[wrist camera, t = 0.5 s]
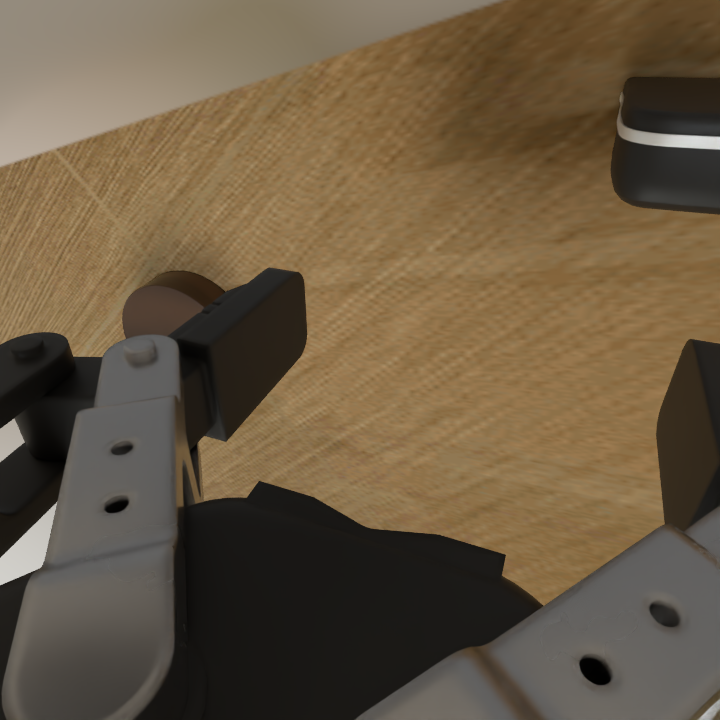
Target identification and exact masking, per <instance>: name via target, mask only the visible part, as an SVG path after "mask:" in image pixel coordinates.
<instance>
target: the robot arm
mask: <svg viewBox="0 0 720 720" xmlns="http://www.w3.org/2000/svg"><path fill="white" fill-rule="evenodd" d="M306 340H307V322H306V304H305V287H304V279H303V277H302V275H301V274H300V273H299V272H293V271H287V270H281V269H275V268H267V269H265V270H264V271H263V272H262V273H260V274H259V275H258V276H256V277H255V278H254V279H253V280H251V281H250V282H249V283H247V284H244V285H242V286H239V287H237V288H234V289H232V290H229V291H227V292H225V293H224V294H222V295H221V296H220V297H218V298H217V299H216V300H214V301H213V303H212V304H209V305H208V306H207V307H205V308H204V309H203V310H201V313H197V314H196V315H195V316H193V317H192V318H191V319H189V320H188V321H187V322H185V323H184V324H183V325H181V326H180V327H179V328H177V329H176V330H175V331H173V332H172V333H171V334H169V335H168V336H163V335H155V334H153V335H140V336H135V337H131V338H128V339H125V340H122V341H120V342H118V343H116V344H114V345H113V346H111V347H110V348H109V349H108V350H107V351H106V352H105V353H104V355H103V357H73V355H72V352H71V349H70V346H69V343H68V340H67V339H66V338H65V337H64V336H63V335H60V334H57V333H50V332H42V333H33V334H27V335H23V336H20V337H17V338H14V339H11V340H9V341H7V342H5V343H3V344H1V345H0V428H2V427H3V426H4V425H6V424H7V423H8V422H10V421H11V420H12V419H14V418H15V420H16V423H17V425H18V427H19V429H20V432H21V434H22V436H23V439H24V441H25V443H24V444H22V445H21V446H20V447H19V448H17V449H16V450H15V451H14V452H12V453H11V454H10V455H9V456H8V457H6V458H5V459H4V460H3V461H1V462H0V557H1V556H2V555H3V554H4V553H5V552H6V551H8V550H9V549H10V548H11V547H12V546H13V545H14V544H15V543H16V542H17V541H18V540H19V539H20V538H21V537H22V536H23V535H24V534H25V533H26V532H27V531H28V530H29V529H30V528H31V527H32V526H33V525H34V524H35V523H36V522H37V521H38V520H39V519H40V518H41V517H42V516H43V515H44V514H45V513H46V512H47V511H48V510H49V509H50V508H51V507H52V506H53V505H54V504H55V503H56V502H57V501H58V502H57V506H56V511H55V516H54V520H53V525H52V529H51V534H50V539H49V544H48V548H47V552H46V557H45V561H44V563H43V565H42V567H41V568H40V569H38V570H35V571H33V572H31V573H28V574H26V575H24V576H21V577H19V578H17V579H15V580H12V581H10V582H7V583H5V584H3V585H0V720H720V344H718V343H712V342H706V341H700V340H694V339H689V340H688V341H687V343H686V344H685V346H684V348H683V350H682V353H681V356H680V358H679V361H678V364H677V366H676V369H675V371H674V374H673V377H672V379H671V382H670V385H669V387H668V390H667V393H666V395H665V398H664V400H663V403H662V406H661V409H660V413H659V417H658V422H657V431H656V437H657V448H658V458H659V468H660V479H661V489H662V499H663V510H664V520H665V524H664V525H662V526H660V527H659V528H657V529H656V530H654V531H653V532H651V533H650V534H648V535H647V536H645V537H644V538H642V539H641V540H640V541H638V542H637V543H635V544H634V545H632V546H631V547H629V548H628V549H626V550H625V551H623V552H622V553H621V554H619V555H618V556H616V557H615V558H613V559H612V560H610V561H609V562H607V563H606V564H604V565H603V566H602V567H600V568H599V569H597V570H596V571H594V572H593V573H591V574H590V575H588V576H587V577H586V578H584V579H583V580H581V581H580V582H578V583H577V584H575V585H574V586H572V587H571V588H569V589H568V590H567V591H565V592H564V593H562V594H561V595H559V596H558V597H556V598H555V599H553V600H552V601H550V602H549V603H548V604H546V605H545V606H543V605H542V604H541V603H540V602H538V601H537V600H536V599H535V598H534V597H533V596H532V595H530V594H529V593H528V592H526V591H525V590H523V589H522V588H521V587H519V586H518V585H516V584H515V583H513V582H512V581H510V580H508V579H506V578H505V577H503V576H502V571H503V566H504V561H505V556H506V555H505V554H501V553H498V552H495V551H491V550H488V549H485V548H481V547H478V546H475V545H471V544H468V543H465V542H461V541H458V540H455V539H451V538H448V537H445V536H441V535H436V534H425V533H413V532H401V531H390V530H378V529H370V528H367V527H365V526H362V525H361V524H359V523H357V522H355V521H354V520H352V519H350V518H348V517H347V516H345V515H343V514H342V513H340V512H338V511H336V510H335V509H333V508H331V507H330V506H328V505H326V504H324V503H323V502H321V501H319V500H317V499H316V498H314V497H311V496H308V495H304V494H301V493H298V492H294V491H291V490H288V489H284V488H281V487H278V486H274V485H271V484H268V483H264V482H261V481H259V482H258V483H257V485H256V486H255V487H254V489H253V490H252V491H251V493H250V494H249V496H248V497H247V498H222V499H214V500H209V501H204V495H203V482H202V468H201V454H200V449H199V444H198V442H199V441H200V439H201V438H202V437H203V436H207V437H211V438H214V439H218V440H222V441H225V442H226V441H227V440H228V439H229V438H230V437H231V436H232V434H233V433H234V432H235V431H236V430H237V429H238V428H239V426H240V425H241V424H242V423H243V422H244V421H245V420H246V418H247V417H248V416H249V415H250V414H251V413H252V412H253V410H254V409H255V408H256V407H257V406H258V405H259V404H260V402H261V401H262V400H263V399H264V398H265V397H266V396H267V394H268V393H269V392H270V391H271V390H272V389H273V388H274V386H275V385H276V384H277V383H278V382H279V381H280V380H281V378H282V377H283V376H284V375H285V374H286V373H287V372H288V370H289V369H290V368H291V367H292V366H293V365H294V364H295V362H296V361H297V360H298V359H299V358H300V356H301V355H302V353H303V351H304V348H305V345H306Z"/></svg>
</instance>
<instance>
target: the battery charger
mask: <svg viewBox="0 0 720 720" xmlns="http://www.w3.org/2000/svg"><path fill="white" fill-rule="evenodd" d="M619 101H620V107H619V112H618V118H617V133H616V138H615V143H614V147H613V152H612V161H611V178H612V183H613V187H614V190H615V192H616V193H617V195H618V196H619V197H620V198H621V200H623V201H625V202H627V203H629V204H631V205H633V206H636V207H642V208H651V209H662V210H673V211H684V212H696V213H708V214H720V78H654V77H633V78H630V79H628V80H627V81H626V82H625V85H624V89H623V91H622V92H621V94H620V99H619Z"/></svg>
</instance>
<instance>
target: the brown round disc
mask: <svg viewBox="0 0 720 720" xmlns="http://www.w3.org/2000/svg"><path fill="white" fill-rule="evenodd" d="M224 293H225V292H224V291H223V290H222V289H221V288H219V287H218V286H217V285H215V284H214V283H213V282H211V281H209V280H208V279H206V278H204V277H202V276H199V275H197V274H194V273H190V272H184V271H172V272H167V273H164V274H162V275H160V276H158V277H157V278H155V279H154V280H152V281H150V282H149V283H147V284H145V285H144V286H142V287H140V288H139V289H137V290H136V291H134V292H133V293H132V294H131V295H130V296H129V298H128V299H127V301H126V303H125V305H124V309H123V316H122V321H123V329H124V334H125V337H126V339H128V338H131V337H135V336H140V335H153V334H155V335H163V336H168V335H169V334H171V333H172V332H173V331H175V330H176V329H177V328H179V327H180V326H181V325H183V324H184V323H185V322H187V321H188V320H189V319H191V318H192V317H193V316H195V315H196V314H197V313H201V310H203V309H204V308H205V307H207V306H208V305H209V304H212V303H213V301H214V300H216V299H217V298H218V297H220V296H221V295H222V294H224Z"/></svg>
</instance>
